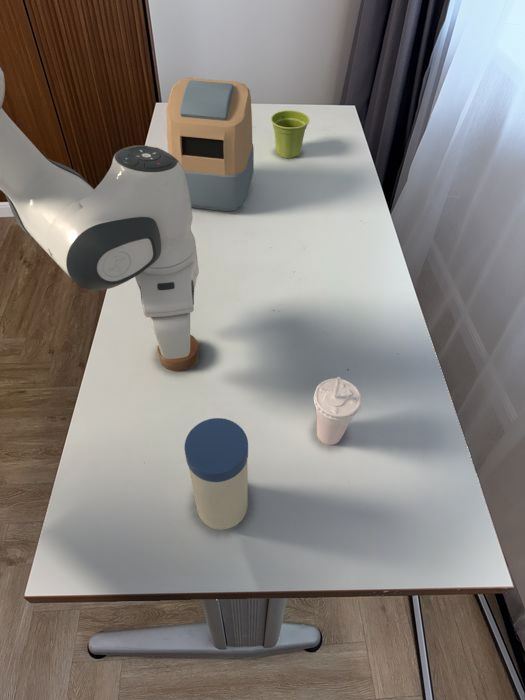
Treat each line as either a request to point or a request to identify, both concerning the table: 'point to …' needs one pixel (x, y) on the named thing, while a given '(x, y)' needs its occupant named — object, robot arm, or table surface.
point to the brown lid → (184, 362)
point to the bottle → (218, 471)
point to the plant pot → (289, 132)
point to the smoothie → (335, 408)
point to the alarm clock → (212, 140)
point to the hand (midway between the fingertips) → (177, 331)
